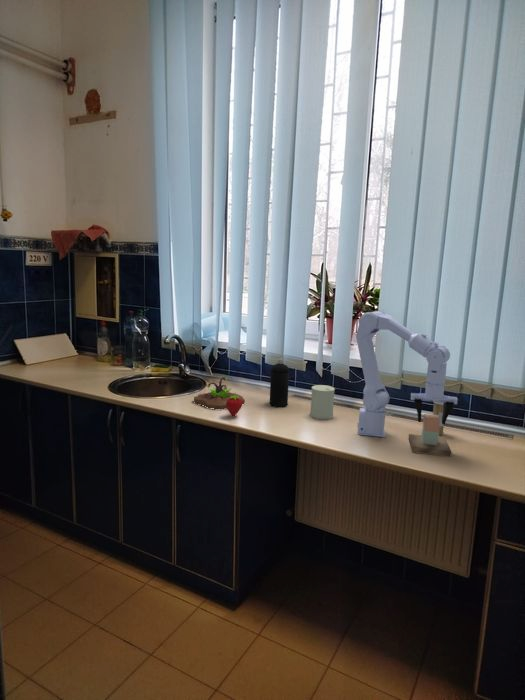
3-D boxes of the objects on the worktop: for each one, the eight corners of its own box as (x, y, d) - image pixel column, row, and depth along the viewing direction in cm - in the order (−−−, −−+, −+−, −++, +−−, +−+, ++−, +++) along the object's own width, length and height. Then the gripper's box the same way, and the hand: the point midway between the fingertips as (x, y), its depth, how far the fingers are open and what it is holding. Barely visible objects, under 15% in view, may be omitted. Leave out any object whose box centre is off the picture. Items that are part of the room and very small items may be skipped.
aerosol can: (287, 408, 198) (289, 361, 195) (267, 406, 200) (269, 360, 196) (289, 402, 206) (291, 357, 203) (270, 401, 208) (272, 356, 204)
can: (321, 421, 184) (323, 391, 182) (305, 414, 191) (306, 385, 189) (337, 416, 190) (339, 387, 188) (321, 410, 197) (322, 382, 195)
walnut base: (411, 452, 157) (412, 446, 156) (408, 439, 168) (408, 433, 168) (450, 456, 154) (451, 450, 154) (444, 443, 166) (444, 437, 165)
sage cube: (422, 443, 159) (424, 430, 158) (421, 438, 163) (422, 426, 163) (437, 445, 158) (438, 432, 157) (435, 440, 162) (436, 427, 162)
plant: (252, 404, 203) (254, 379, 201) (216, 413, 190) (217, 385, 188) (223, 394, 217) (224, 370, 215) (187, 401, 204) (188, 375, 202)
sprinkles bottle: (428, 430, 178) (431, 396, 175) (439, 431, 178) (443, 396, 176) (433, 435, 173) (437, 399, 171) (445, 435, 174) (449, 399, 171)
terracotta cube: (424, 430, 158) (425, 417, 157) (422, 426, 162) (424, 413, 162) (438, 432, 157) (440, 419, 156) (436, 427, 162) (437, 415, 161)
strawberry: (245, 415, 187) (246, 390, 186) (235, 420, 181) (236, 395, 179) (232, 412, 190) (232, 388, 188) (222, 417, 183) (223, 392, 182)
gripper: (413, 383, 155) (409, 423, 157) (461, 387, 152) (456, 428, 154) (411, 378, 161) (407, 417, 164) (456, 382, 159) (452, 421, 161)
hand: (431, 422), depth 160 cm, fingers open, 7 cm apart
